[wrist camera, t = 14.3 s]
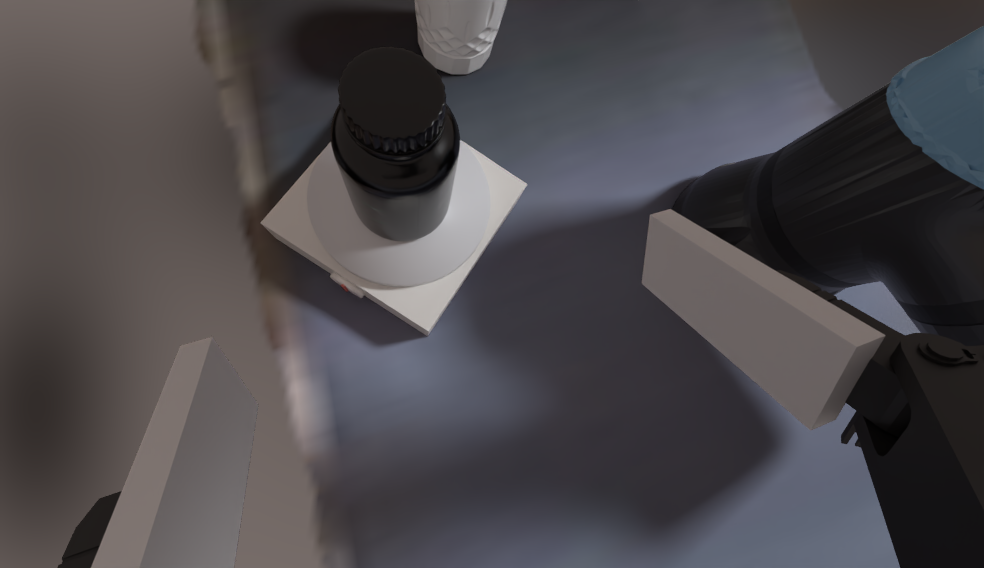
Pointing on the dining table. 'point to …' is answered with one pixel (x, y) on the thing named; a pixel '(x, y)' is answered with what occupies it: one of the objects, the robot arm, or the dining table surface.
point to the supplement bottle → (395, 142)
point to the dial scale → (396, 264)
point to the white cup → (458, 32)
